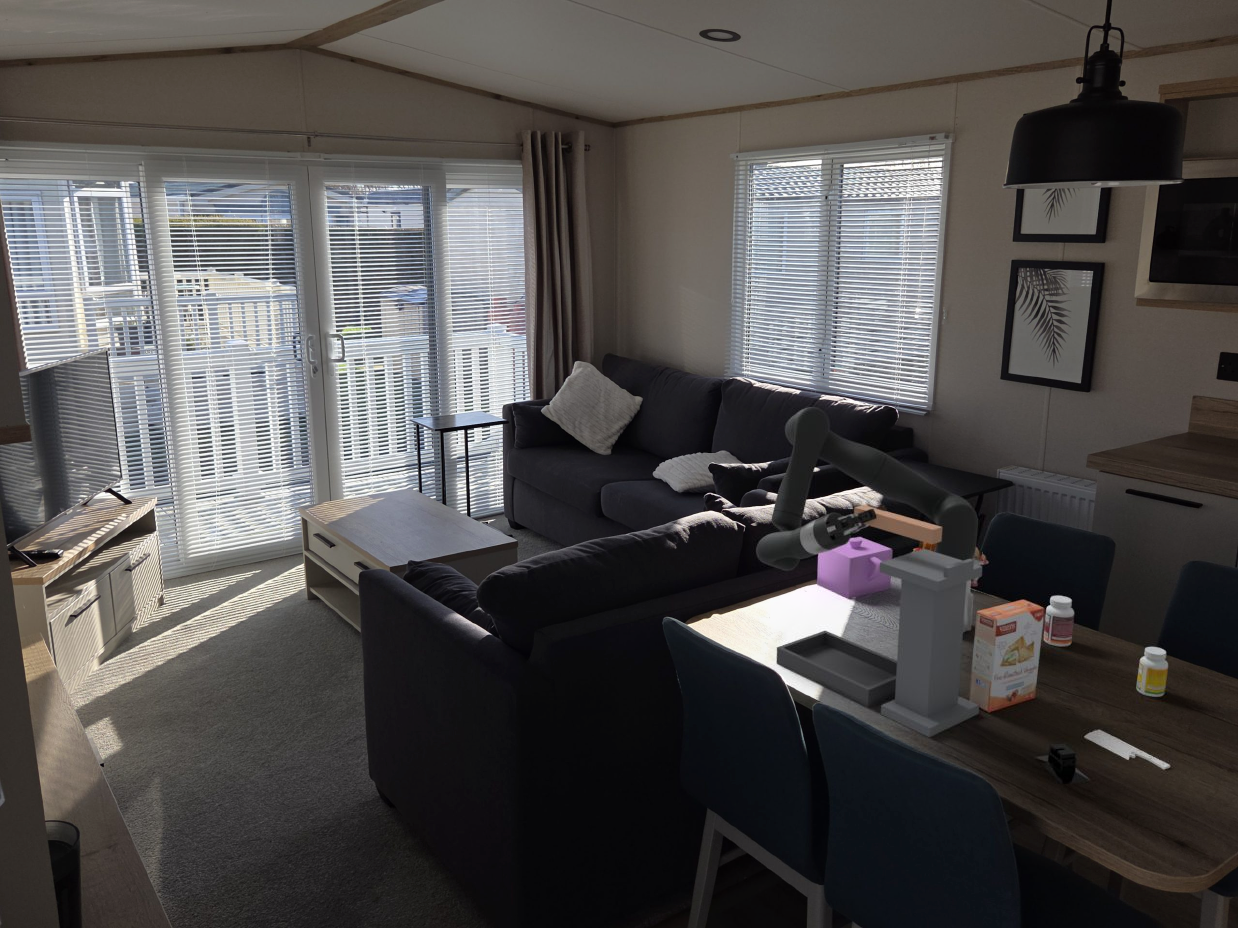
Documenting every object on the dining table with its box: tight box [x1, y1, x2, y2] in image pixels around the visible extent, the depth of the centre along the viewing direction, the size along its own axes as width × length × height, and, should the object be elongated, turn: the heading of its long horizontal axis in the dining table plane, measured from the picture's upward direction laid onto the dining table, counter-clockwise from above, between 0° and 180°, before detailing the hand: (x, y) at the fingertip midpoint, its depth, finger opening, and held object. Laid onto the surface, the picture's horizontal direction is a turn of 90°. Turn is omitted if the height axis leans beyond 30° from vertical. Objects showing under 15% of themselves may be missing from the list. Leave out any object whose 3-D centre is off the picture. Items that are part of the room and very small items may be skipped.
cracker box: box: [968, 599, 1045, 713], centre depth 205 cm, size 14×6×21 cm, turn 117°
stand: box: [879, 549, 983, 738], centre depth 200 cm, size 15×16×34 cm
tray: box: [776, 630, 897, 708], centre depth 220 cm, size 27×16×4 cm, turn 35°
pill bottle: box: [1043, 595, 1075, 648], centre depth 235 cm, size 6×6×11 cm
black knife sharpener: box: [1033, 743, 1092, 785], centre depth 181 cm, size 12×7×5 cm, turn 10°
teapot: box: [816, 536, 893, 600], centre depth 274 cm, size 15×25×14 cm, turn 29°
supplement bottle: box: [1136, 646, 1169, 698], centre depth 209 cm, size 5×5×10 cm
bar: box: [853, 504, 942, 544], centre depth 202 cm, size 20×3×3 cm, turn 36°
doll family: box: [912, 541, 989, 587], centre depth 274 cm, size 21×10×13 cm, turn 58°
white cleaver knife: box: [1083, 729, 1171, 770], centre depth 187 cm, size 5×15×1 cm, turn 26°
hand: (879, 511), depth 205 cm, fingers closed on bar, 3 cm apart
